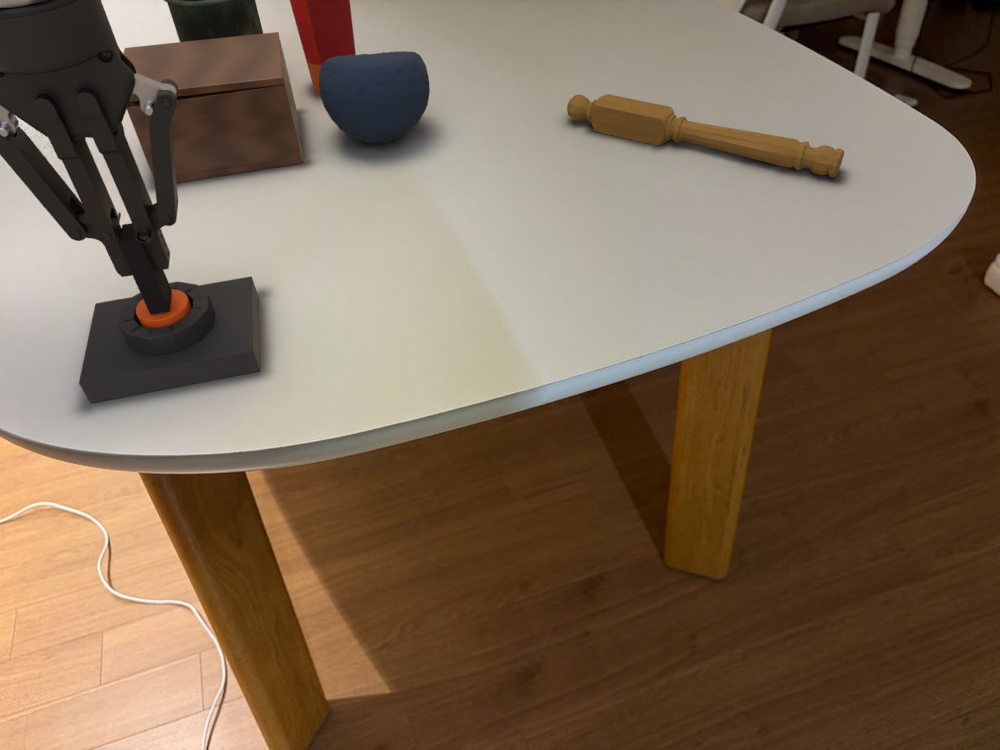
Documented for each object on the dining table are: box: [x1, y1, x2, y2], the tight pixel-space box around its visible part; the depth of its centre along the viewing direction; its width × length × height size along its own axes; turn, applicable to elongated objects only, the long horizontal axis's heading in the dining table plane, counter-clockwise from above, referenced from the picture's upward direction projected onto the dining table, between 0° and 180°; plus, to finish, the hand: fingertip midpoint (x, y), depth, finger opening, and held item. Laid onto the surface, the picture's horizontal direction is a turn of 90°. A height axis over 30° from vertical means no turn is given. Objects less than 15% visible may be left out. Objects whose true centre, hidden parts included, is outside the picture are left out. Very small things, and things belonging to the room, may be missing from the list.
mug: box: [163, 0, 264, 42], centre depth 100 cm, size 11×15×12 cm
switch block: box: [78, 276, 261, 404], centre depth 65 cm, size 13×10×4 cm
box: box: [126, 40, 304, 184], centre depth 88 cm, size 16×13×9 cm
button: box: [136, 289, 192, 328], centre depth 64 cm, size 4×4×2 cm
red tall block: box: [289, 0, 357, 96], centre depth 96 cm, size 8×8×14 cm
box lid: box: [122, 31, 284, 102], centre depth 84 cm, size 16×13×1 cm
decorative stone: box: [319, 50, 431, 145], centre depth 88 cm, size 12×12×10 cm
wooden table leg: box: [566, 93, 845, 178], centre depth 85 cm, size 3×3×30 cm
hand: (161, 302), depth 63 cm, fingers closed
